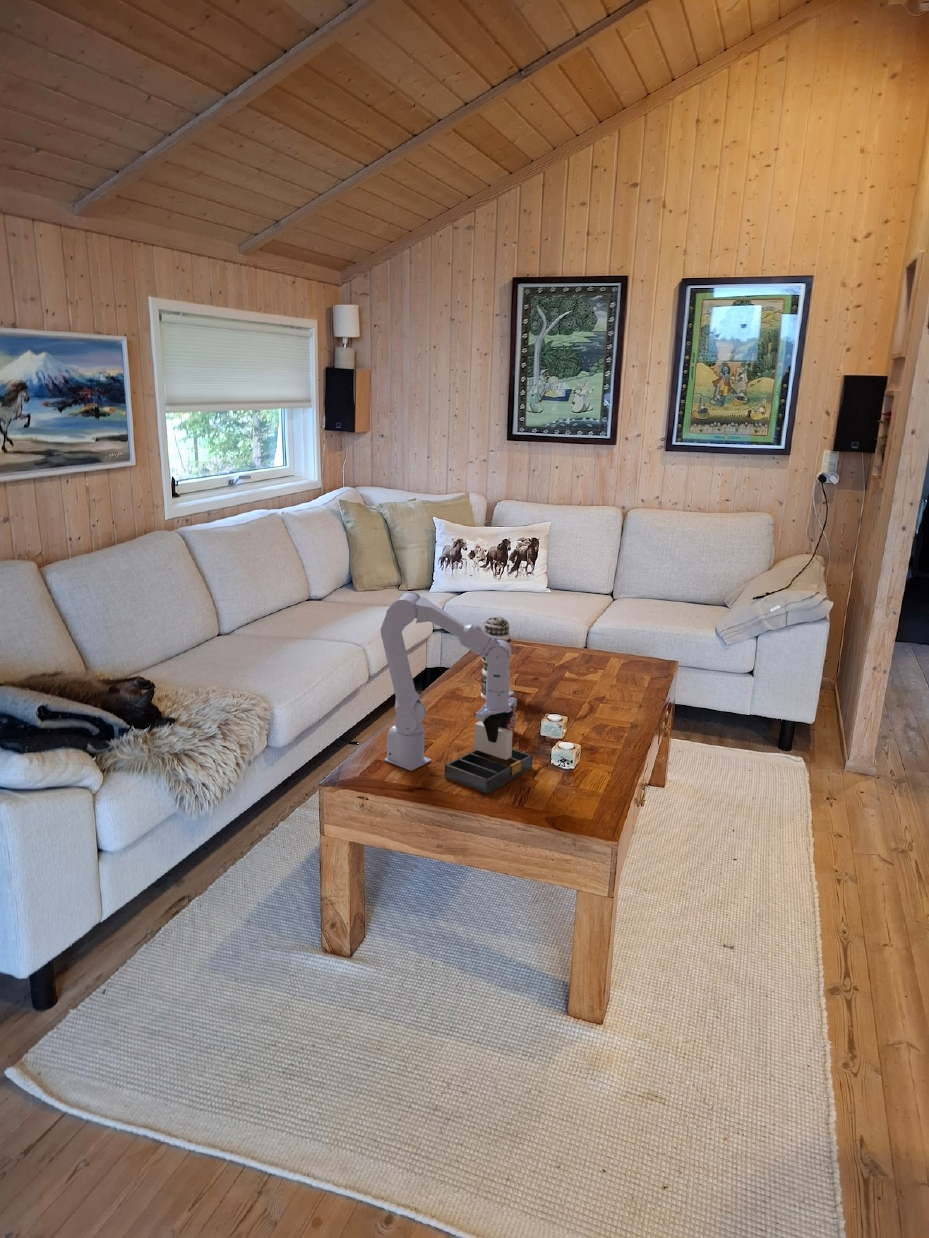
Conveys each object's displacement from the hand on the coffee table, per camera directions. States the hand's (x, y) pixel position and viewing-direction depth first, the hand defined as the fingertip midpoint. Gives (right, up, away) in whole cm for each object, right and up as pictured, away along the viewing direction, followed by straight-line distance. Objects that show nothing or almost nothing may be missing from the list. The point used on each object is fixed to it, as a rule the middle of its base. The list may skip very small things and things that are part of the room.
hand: (495, 739), depth 214 cm
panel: (-1, -4, +1) cm, 4 cm away
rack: (-2, -8, 0) cm, 9 cm away
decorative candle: (+2, +6, +54) cm, 54 cm away
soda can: (+3, -2, +26) cm, 26 cm away
